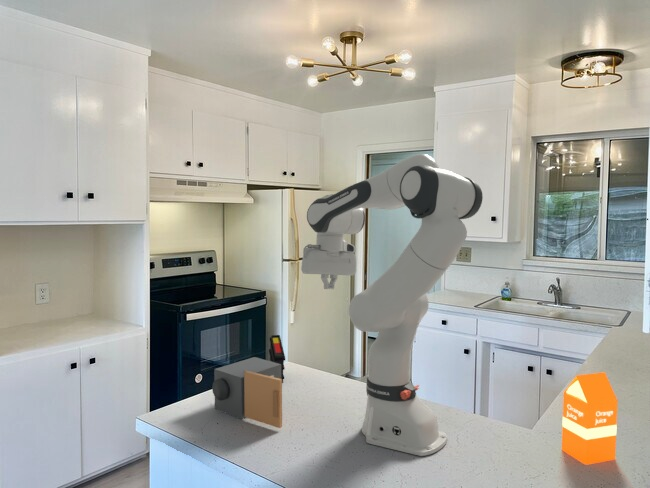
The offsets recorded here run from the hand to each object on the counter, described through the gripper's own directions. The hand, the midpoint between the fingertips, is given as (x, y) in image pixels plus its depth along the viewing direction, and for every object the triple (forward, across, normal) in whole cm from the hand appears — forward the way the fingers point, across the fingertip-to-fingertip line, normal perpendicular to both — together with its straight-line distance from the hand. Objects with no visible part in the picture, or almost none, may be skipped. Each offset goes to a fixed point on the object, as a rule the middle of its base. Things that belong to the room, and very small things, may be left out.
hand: (328, 289), depth 158 cm
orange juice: (+38, +27, -67) cm, 82 cm away
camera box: (+36, -22, +10) cm, 43 cm away
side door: (+36, -26, -4) cm, 45 cm away
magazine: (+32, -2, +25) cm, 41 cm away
